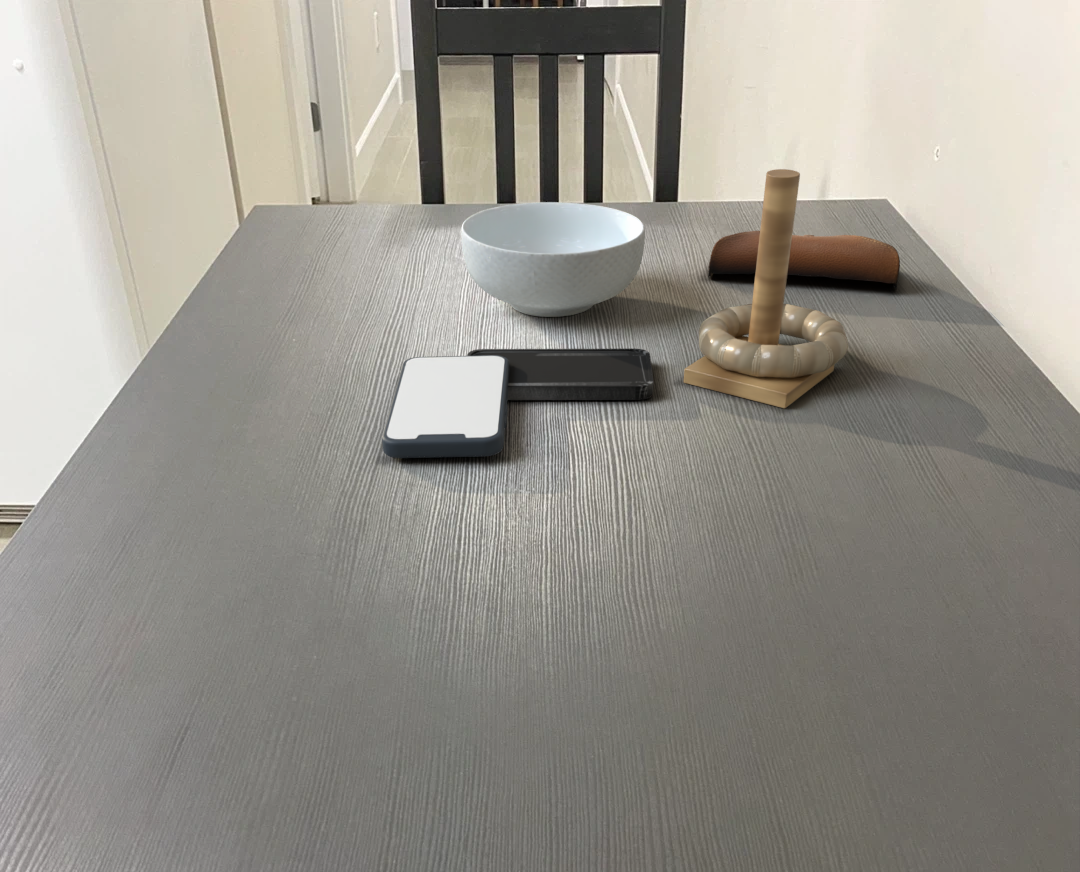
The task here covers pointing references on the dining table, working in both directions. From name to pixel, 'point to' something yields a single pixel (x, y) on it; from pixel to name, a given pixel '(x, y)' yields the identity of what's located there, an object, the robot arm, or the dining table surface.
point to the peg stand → (765, 303)
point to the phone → (576, 373)
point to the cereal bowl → (552, 255)
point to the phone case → (448, 407)
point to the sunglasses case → (812, 257)
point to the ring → (773, 359)
